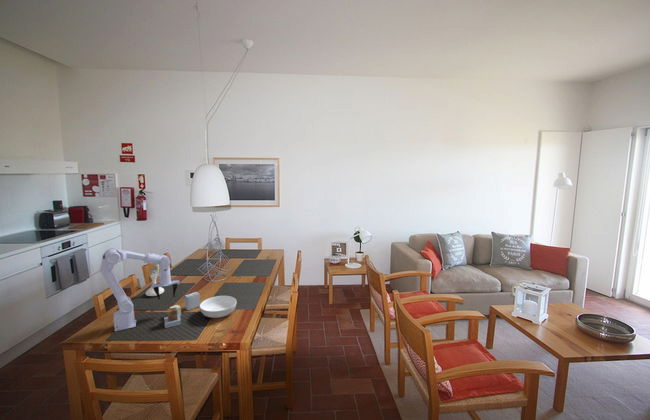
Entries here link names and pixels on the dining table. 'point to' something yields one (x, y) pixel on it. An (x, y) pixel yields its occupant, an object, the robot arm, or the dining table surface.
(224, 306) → the serving bowl
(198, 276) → the dining table surface
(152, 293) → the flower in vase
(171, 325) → the base block
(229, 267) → the dining table surface
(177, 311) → the sage block
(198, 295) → the medicine box
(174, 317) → the walnut block
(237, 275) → the dining table surface
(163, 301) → the dining table surface
